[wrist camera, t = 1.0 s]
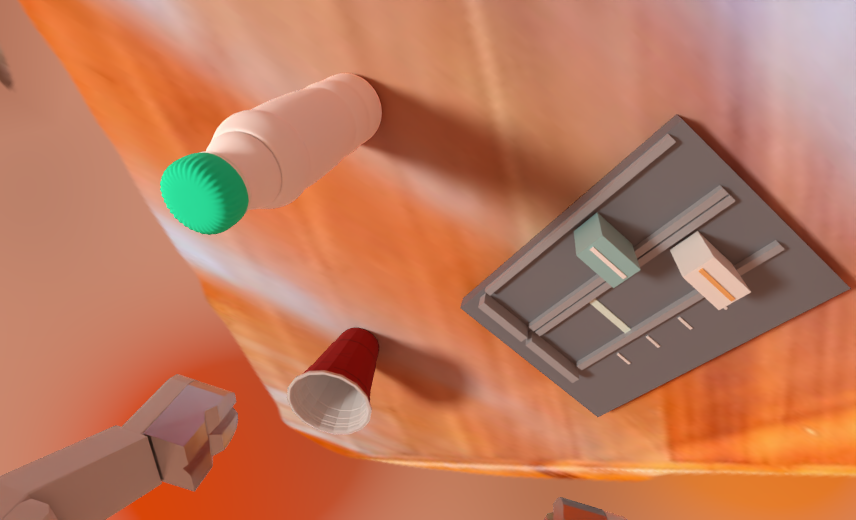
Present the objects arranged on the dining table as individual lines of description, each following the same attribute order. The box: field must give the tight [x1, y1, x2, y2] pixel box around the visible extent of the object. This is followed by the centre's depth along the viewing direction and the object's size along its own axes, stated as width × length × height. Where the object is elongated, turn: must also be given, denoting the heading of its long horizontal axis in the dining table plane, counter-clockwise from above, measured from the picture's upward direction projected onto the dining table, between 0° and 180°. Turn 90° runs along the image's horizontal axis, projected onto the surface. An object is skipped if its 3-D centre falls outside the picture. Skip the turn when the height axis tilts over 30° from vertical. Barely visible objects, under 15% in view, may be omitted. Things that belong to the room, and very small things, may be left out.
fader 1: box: [574, 212, 641, 288], centre depth 42 cm, size 3×5×5 cm, turn 52°
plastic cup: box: [287, 328, 379, 434], centre depth 59 cm, size 11×11×12 cm
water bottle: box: [160, 73, 382, 235], centre depth 36 cm, size 7×7×25 cm
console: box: [461, 115, 851, 417], centre depth 48 cm, size 30×24×4 cm
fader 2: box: [670, 231, 751, 310], centre depth 41 cm, size 3×5×5 cm, turn 52°
